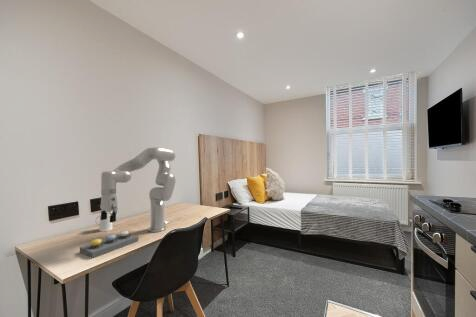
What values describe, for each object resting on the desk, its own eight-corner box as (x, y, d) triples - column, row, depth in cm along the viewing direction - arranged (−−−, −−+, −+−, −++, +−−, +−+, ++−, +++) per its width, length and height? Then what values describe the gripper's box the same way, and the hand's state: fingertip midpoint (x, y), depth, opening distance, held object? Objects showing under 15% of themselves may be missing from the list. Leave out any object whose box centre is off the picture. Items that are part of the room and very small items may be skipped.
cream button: (125, 232, 130) (125, 229, 130) (130, 234, 128) (130, 231, 128) (117, 235, 126) (117, 232, 126) (122, 236, 124) (122, 233, 124)
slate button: (112, 236, 124) (112, 233, 124) (117, 238, 121) (117, 235, 121) (104, 239, 119) (104, 236, 119) (108, 241, 117) (108, 237, 117)
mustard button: (98, 241, 117) (98, 238, 117) (103, 243, 114) (103, 239, 114) (88, 244, 112) (88, 241, 112) (93, 246, 110) (93, 242, 110)
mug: (91, 231, 146) (92, 215, 146) (100, 227, 155) (100, 212, 155) (107, 231, 146) (107, 215, 146) (115, 227, 154) (115, 212, 154)
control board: (125, 237, 135) (125, 232, 135) (138, 241, 128) (138, 236, 128) (79, 252, 112) (79, 246, 112) (92, 258, 105) (92, 252, 105)
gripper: (123, 192, 118) (122, 221, 118) (107, 190, 127) (107, 217, 126) (110, 194, 112) (109, 224, 111) (94, 191, 120) (93, 220, 120)
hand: (108, 220), depth 119 cm, fingers open, 9 cm apart
